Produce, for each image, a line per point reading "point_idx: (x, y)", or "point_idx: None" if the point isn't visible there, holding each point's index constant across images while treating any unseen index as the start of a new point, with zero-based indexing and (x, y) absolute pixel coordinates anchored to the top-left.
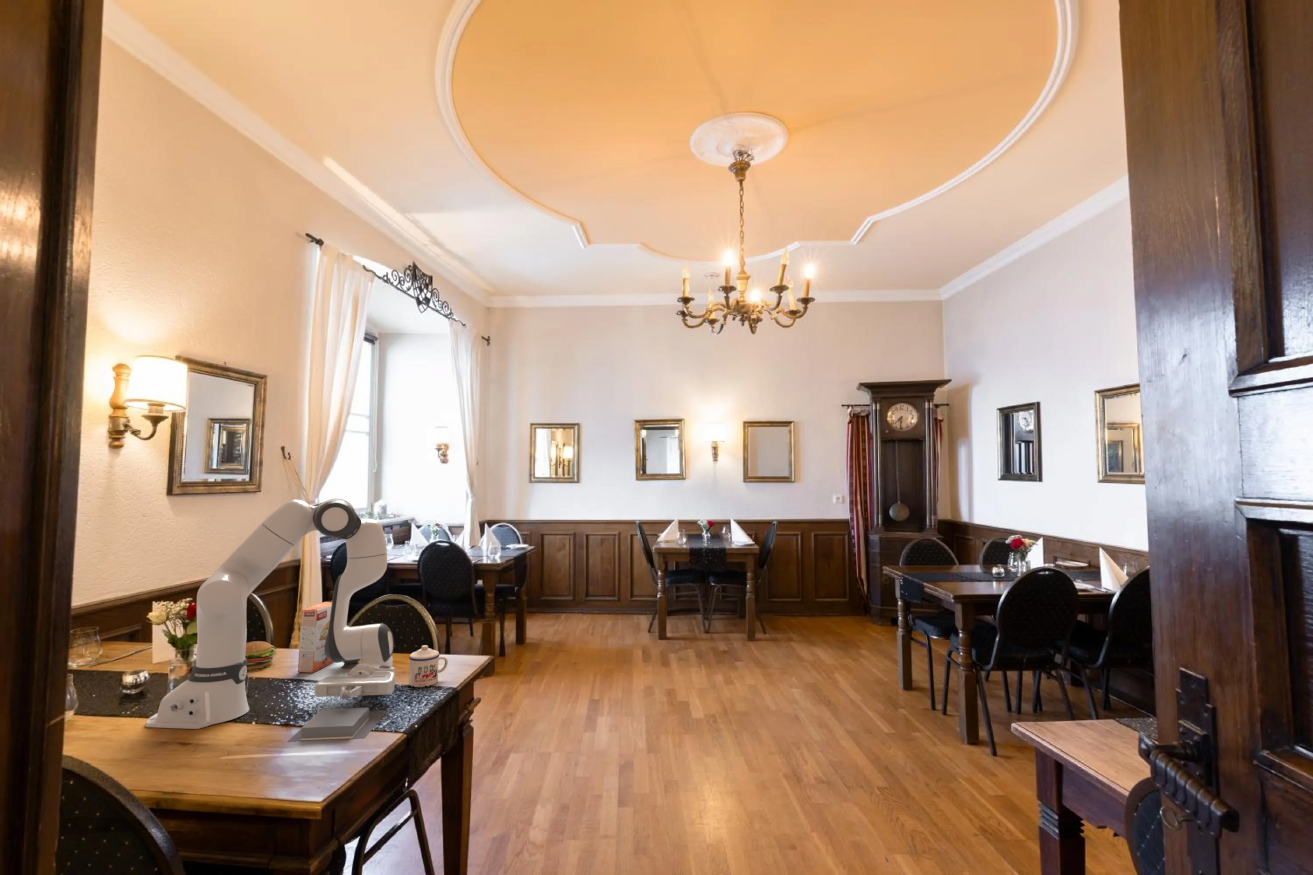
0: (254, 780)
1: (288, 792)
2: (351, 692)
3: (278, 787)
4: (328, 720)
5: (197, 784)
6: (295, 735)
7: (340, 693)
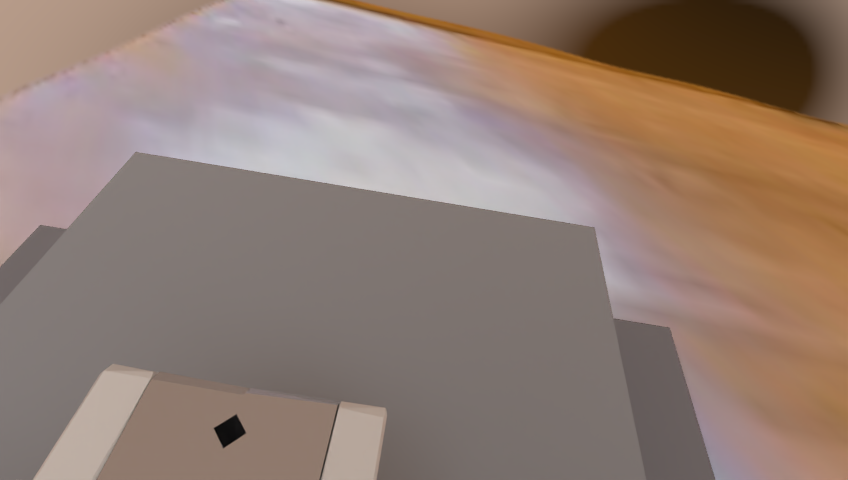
0: (565, 101)
1: (384, 30)
2: (119, 369)
3: (436, 53)
4: (397, 290)
5: (786, 134)
6: (678, 413)
7: (381, 410)
